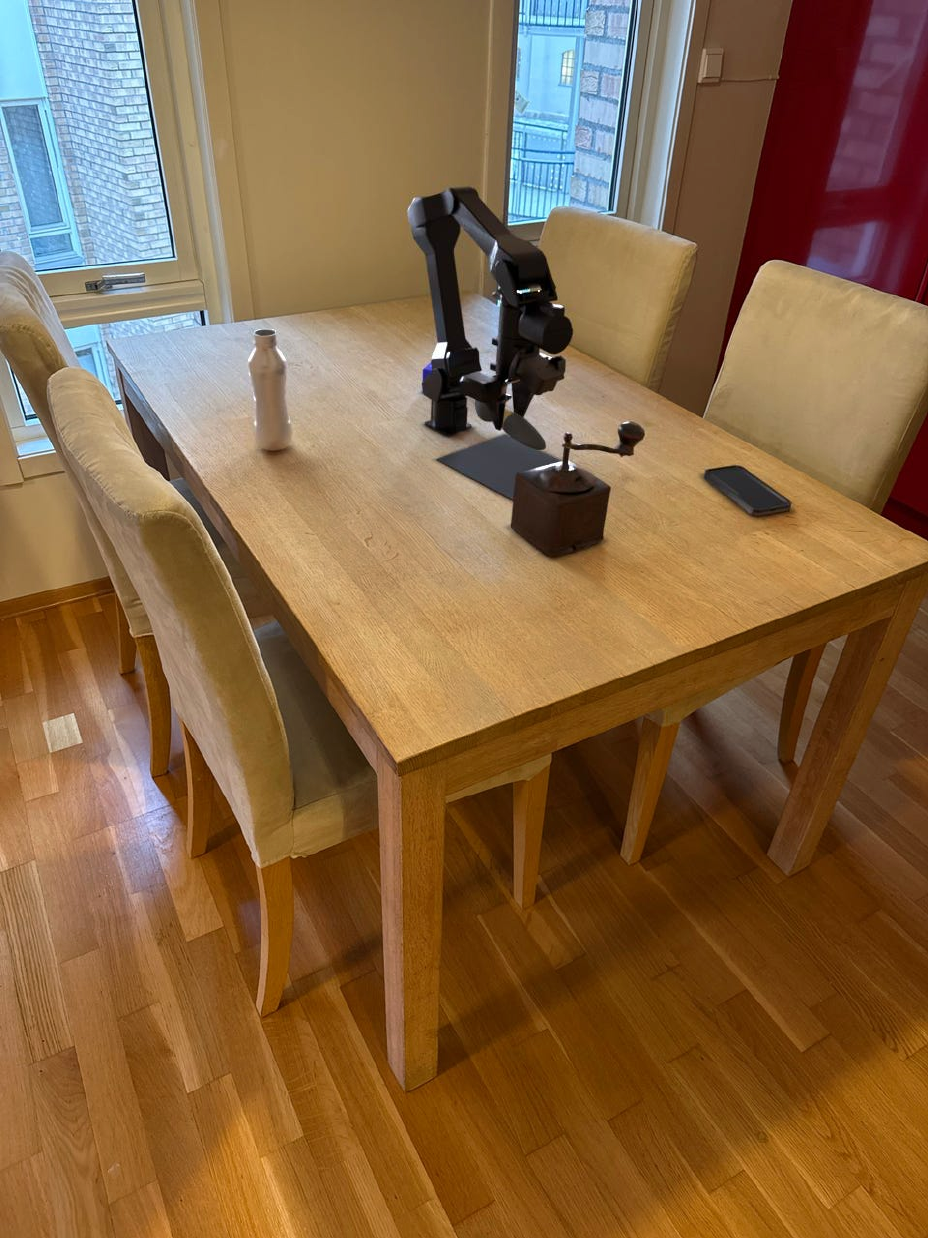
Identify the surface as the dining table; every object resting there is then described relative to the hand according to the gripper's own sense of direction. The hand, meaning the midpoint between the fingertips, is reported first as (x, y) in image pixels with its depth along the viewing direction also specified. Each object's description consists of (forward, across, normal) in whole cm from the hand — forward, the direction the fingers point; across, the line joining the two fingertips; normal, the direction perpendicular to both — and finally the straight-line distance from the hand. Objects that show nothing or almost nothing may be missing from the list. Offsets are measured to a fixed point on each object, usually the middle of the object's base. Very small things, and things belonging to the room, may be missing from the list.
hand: (508, 426), depth 150 cm
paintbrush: (+1, 0, 0) cm, 1 cm away
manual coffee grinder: (+7, -8, -22) cm, 25 cm away
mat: (+7, 0, -1) cm, 7 cm away
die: (+8, +13, +32) cm, 35 cm away
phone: (+7, +25, -32) cm, 41 cm away
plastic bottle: (+8, -27, +30) cm, 41 cm away
